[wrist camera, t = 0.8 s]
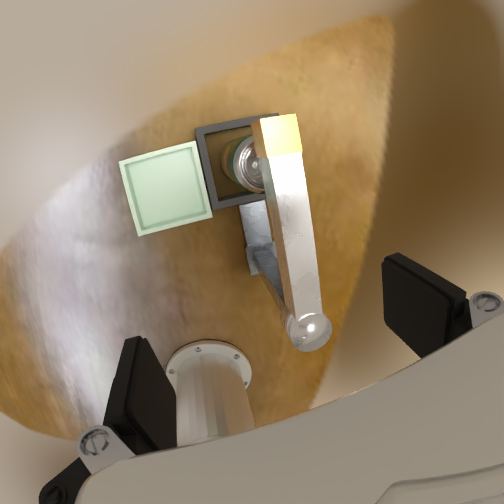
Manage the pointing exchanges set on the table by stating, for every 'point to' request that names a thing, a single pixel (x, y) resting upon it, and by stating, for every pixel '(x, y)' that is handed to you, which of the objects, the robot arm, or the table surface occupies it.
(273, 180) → the bar
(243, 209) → the post
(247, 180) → the soda can
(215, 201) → the collar
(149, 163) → the tray
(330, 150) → the table surface
